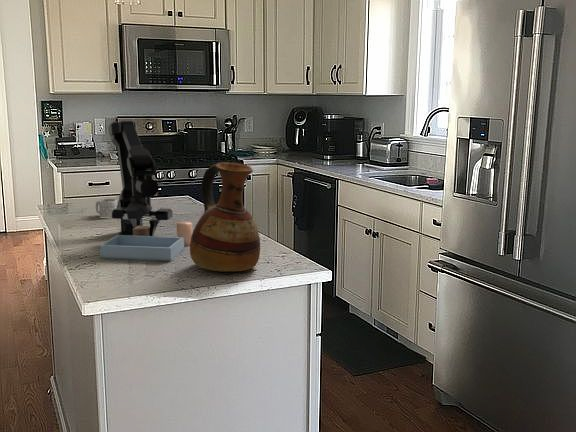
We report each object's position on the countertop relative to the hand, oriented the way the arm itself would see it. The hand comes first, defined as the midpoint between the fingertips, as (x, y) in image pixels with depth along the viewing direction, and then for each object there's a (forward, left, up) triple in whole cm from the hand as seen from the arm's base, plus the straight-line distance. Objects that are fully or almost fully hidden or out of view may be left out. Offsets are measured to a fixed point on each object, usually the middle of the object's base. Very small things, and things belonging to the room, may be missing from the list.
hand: (143, 239), depth 207 cm
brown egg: (+14, 0, -1) cm, 14 cm away
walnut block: (0, 0, -1) cm, 1 cm away
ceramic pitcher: (+33, -25, -1) cm, 41 cm away
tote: (+5, -14, -1) cm, 15 cm away
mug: (-29, +38, -1) cm, 48 cm away
